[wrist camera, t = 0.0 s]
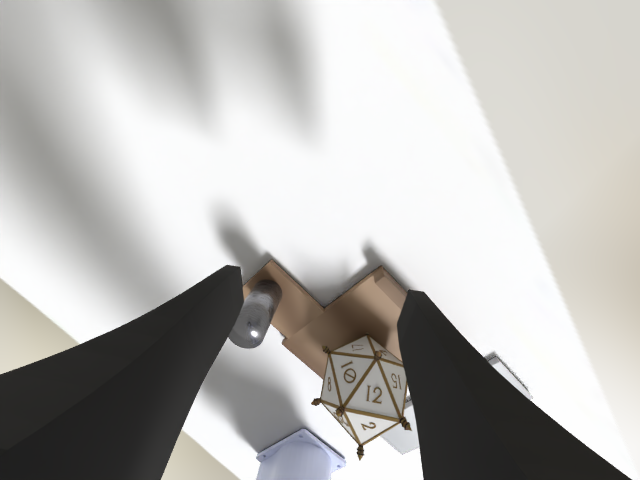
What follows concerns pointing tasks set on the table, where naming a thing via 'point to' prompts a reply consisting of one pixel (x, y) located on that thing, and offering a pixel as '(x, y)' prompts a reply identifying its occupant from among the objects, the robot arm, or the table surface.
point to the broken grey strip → (409, 439)
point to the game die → (364, 389)
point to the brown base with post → (318, 315)
